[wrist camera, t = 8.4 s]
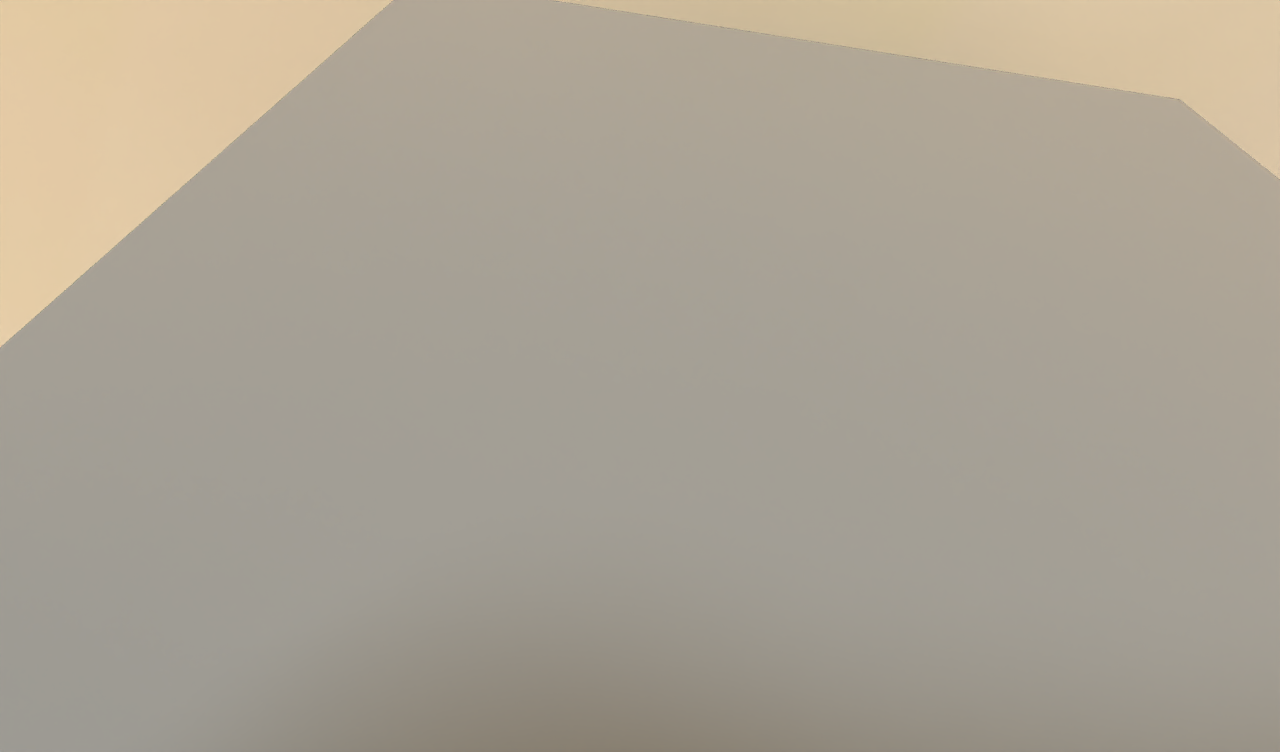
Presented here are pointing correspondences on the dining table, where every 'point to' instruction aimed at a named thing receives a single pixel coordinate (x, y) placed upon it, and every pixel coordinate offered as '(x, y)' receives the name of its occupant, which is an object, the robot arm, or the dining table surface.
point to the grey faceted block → (659, 414)
